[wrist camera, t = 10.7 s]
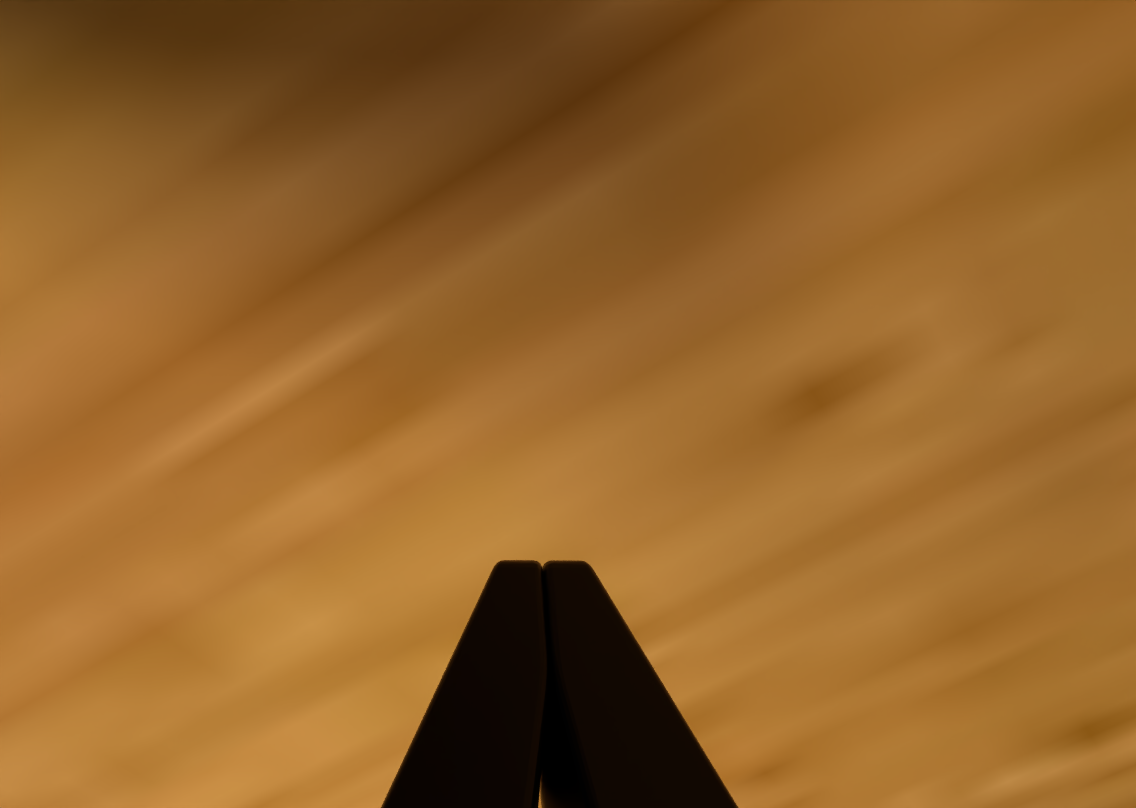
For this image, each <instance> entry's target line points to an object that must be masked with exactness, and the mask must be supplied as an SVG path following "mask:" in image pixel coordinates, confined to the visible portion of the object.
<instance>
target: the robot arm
mask: <svg viewBox="0 0 1136 808" xmlns="http://www.w3.org/2000/svg"><path fill="white" fill-rule="evenodd" d="M539 791H540V793H541V805H542V808H738V806H737V805H736V803H735V802H734V800H733V798H732V797H731V795H730V793H729V792H728V790H727V788H726V787H725V785H724V783H723V782H722V780H721V779H720V777H719V775H718V774H717V772H716V770H715V769H714V767H713V765H712V764H711V762H710V760H709V759H708V757H707V756H706V754H705V752H704V751H703V749H702V747H701V746H700V744H699V742H698V741H697V739H696V737H695V736H694V734H693V733H692V731H691V729H690V728H689V726H688V724H687V723H686V721H685V719H684V718H683V716H682V714H681V713H680V711H679V710H678V708H677V706H676V705H675V703H674V701H673V700H672V698H671V696H670V695H669V693H668V691H667V690H666V688H665V687H664V685H663V683H662V682H661V680H660V678H659V677H658V675H657V673H656V672H655V670H654V668H653V667H652V665H651V664H650V662H649V660H648V659H647V657H646V655H645V654H644V652H643V650H642V649H641V647H640V645H639V644H638V642H637V641H636V639H635V637H634V636H633V634H632V632H631V631H630V629H629V627H628V626H627V624H626V622H625V621H624V619H623V618H622V616H621V614H620V613H619V611H618V609H617V608H616V606H615V604H614V603H613V601H612V599H611V598H610V596H609V595H608V593H607V591H606V590H605V588H604V586H603V585H602V583H601V581H600V580H599V578H598V576H597V575H596V573H595V572H594V570H593V569H592V567H591V566H590V565H589V564H588V563H586V562H585V561H548V562H546V563H545V564H544V566H543V568H542V566H541V564H540V563H539V562H537V561H534V560H503V561H500V562H498V563H497V564H496V565H495V566H494V568H493V570H492V572H491V574H490V576H489V578H488V580H487V582H486V585H485V587H484V589H483V591H482V593H481V595H480V597H479V600H478V602H477V604H476V606H475V608H474V610H473V612H472V614H471V617H470V619H469V621H468V623H467V625H466V627H465V629H464V632H463V634H462V636H461V638H460V640H459V642H458V644H457V647H456V649H455V651H454V653H453V655H452V657H451V659H450V661H449V664H448V666H447V668H446V670H445V672H444V674H443V676H442V679H441V681H440V683H439V685H438V687H437V689H436V691H435V693H434V696H433V698H432V700H431V702H430V704H429V706H428V708H427V711H426V713H425V715H424V717H423V719H422V721H421V723H420V726H419V728H418V730H417V732H416V734H415V736H414V738H413V740H412V743H411V745H410V747H409V749H408V751H407V753H406V755H405V758H404V760H403V762H402V764H401V766H400V768H399V770H398V773H397V775H396V777H395V779H394V781H393V783H392V785H391V787H390V790H389V792H388V794H387V796H386V798H385V800H384V802H383V805H382V807H381V808H538V802H539Z"/></svg>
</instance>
